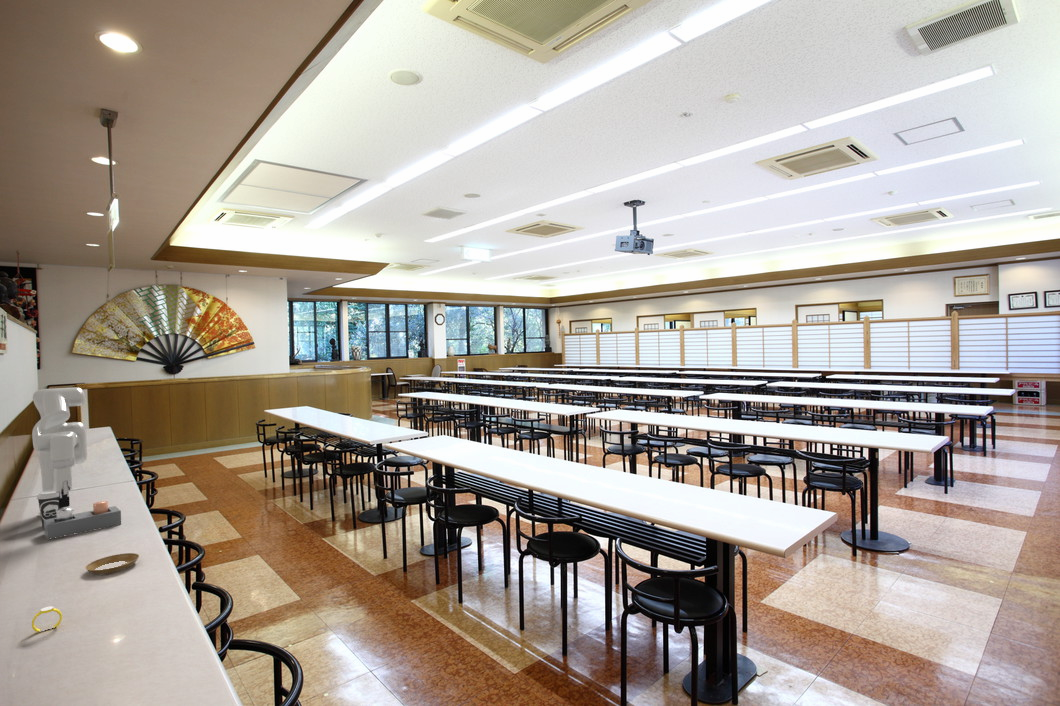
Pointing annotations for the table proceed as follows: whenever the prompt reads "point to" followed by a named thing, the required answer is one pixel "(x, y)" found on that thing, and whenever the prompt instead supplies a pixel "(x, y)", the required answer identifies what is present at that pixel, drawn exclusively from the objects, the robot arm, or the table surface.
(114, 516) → the plunger housing
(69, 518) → the metal plunger
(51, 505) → the coffee cup
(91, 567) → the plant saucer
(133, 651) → the table surface
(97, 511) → the peach rounded cylinder
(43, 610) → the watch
